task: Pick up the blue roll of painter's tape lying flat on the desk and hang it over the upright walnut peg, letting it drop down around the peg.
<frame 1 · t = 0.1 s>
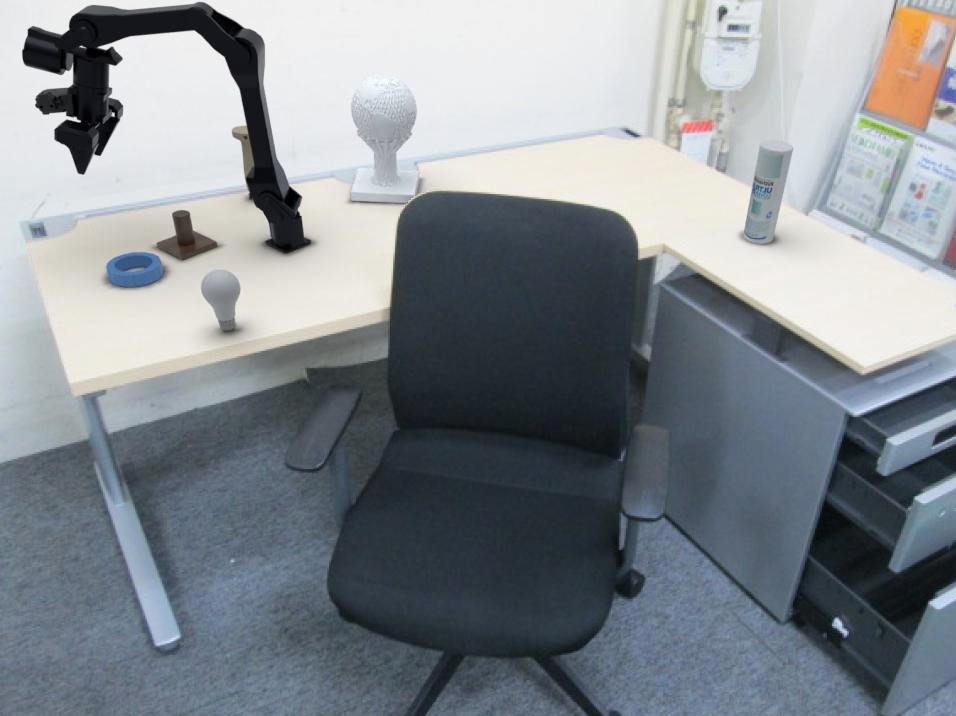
hand: (89, 164, 169), 15 cm above the table, tool pointing down, fingers open, 9 cm apart
tape: (136, 275, 167), on the table
peg stand: (187, 246, 177), on the table
lightbulb: (228, 331, 154), on the table
trophy: (386, 191, 204), on the table
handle: (257, 198, 198), on the table
spray can: (757, 238, 193), on the table
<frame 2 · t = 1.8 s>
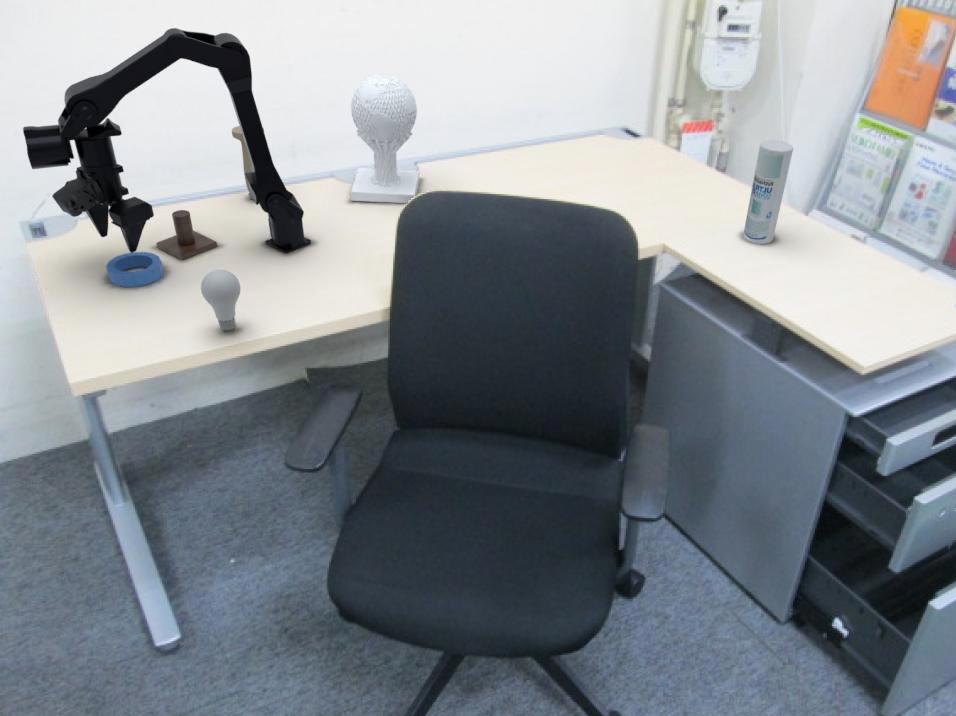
hand: (118, 243, 166), 5 cm above the table, tool pointing down, fingers open, 9 cm apart
nothing on the table moved.
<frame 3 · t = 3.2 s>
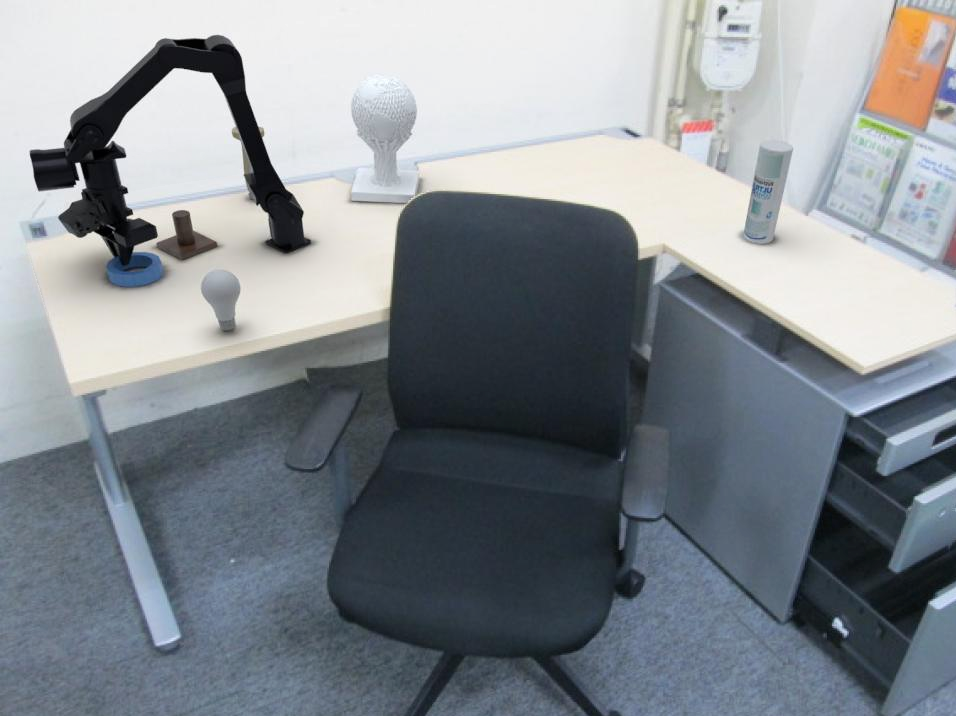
hand: (123, 263, 169), 1 cm above the table, tool pointing down, fingers closed on tape, 1 cm apart
tape: (136, 274, 167), on the table, touching gripper
everything else where it was.
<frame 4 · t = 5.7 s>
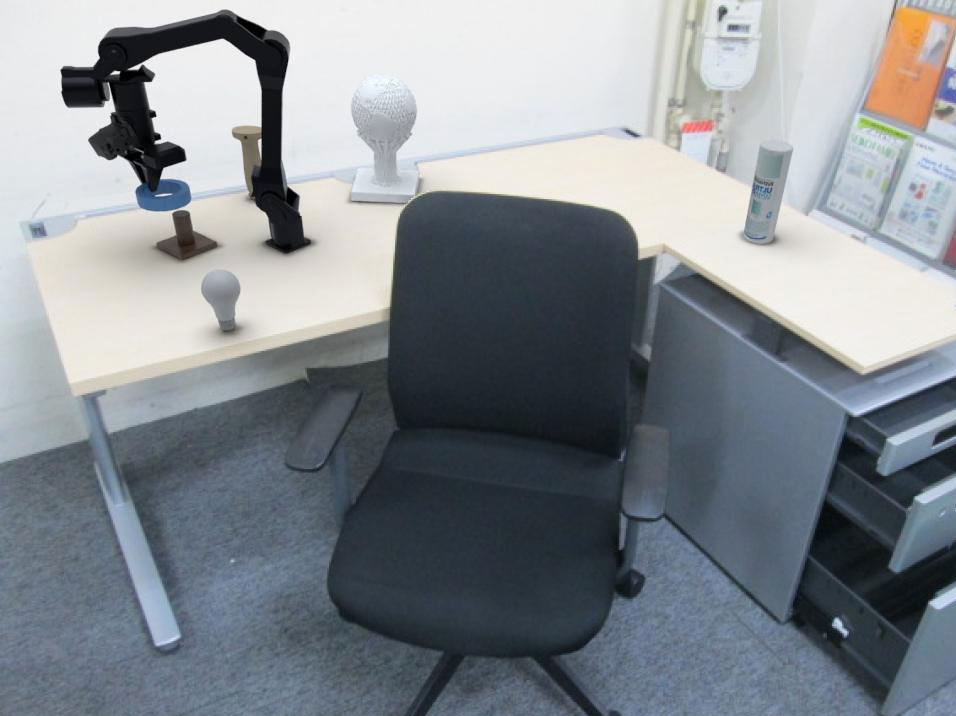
hand: (150, 190, 170), 12 cm above the table, tool pointing down, fingers closed on tape
tape: (164, 201, 169), point 11 cm above the table, touching gripper
everything else where it was.
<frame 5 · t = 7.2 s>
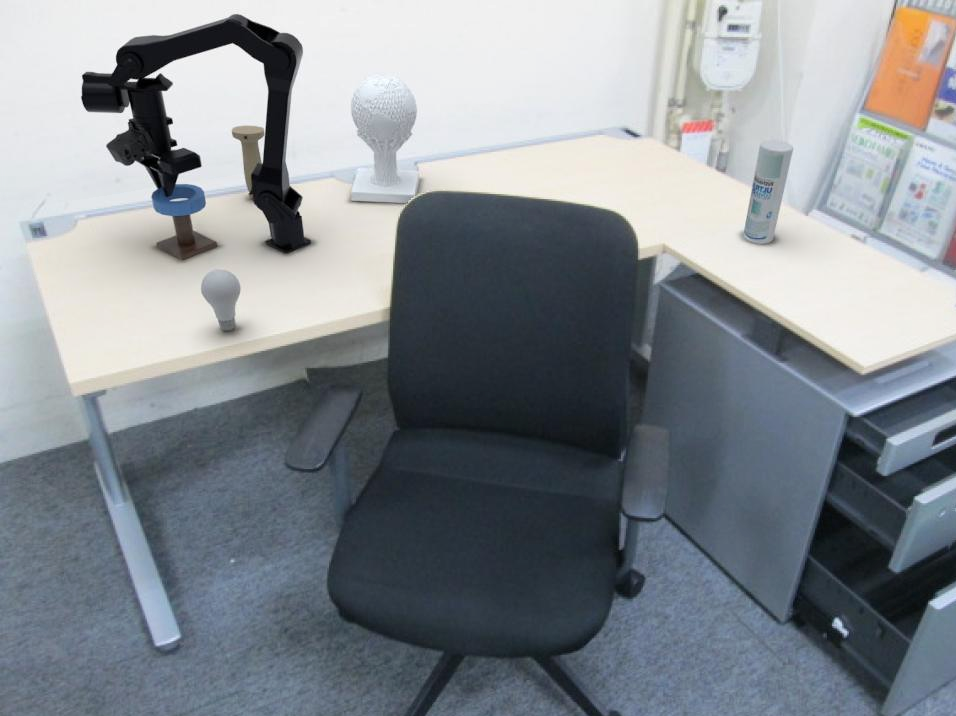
hand: (166, 195, 174), 10 cm above the table, tool pointing down, fingers closed on tape
tape: (180, 205, 173), point 9 cm above the table, touching gripper
everything else where it was.
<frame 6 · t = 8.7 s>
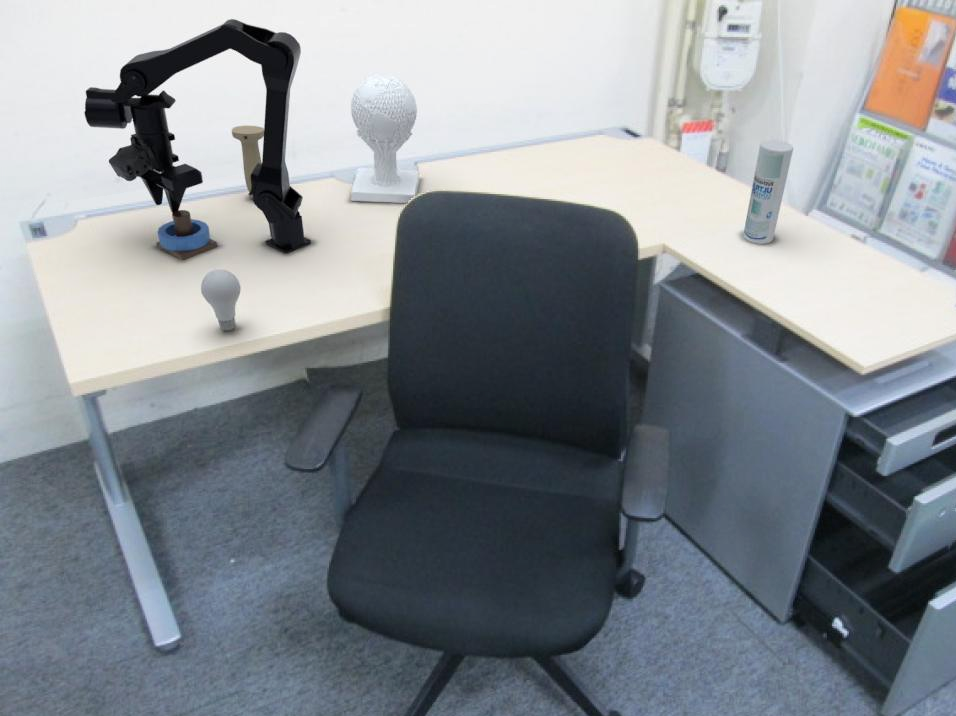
hand: (167, 208, 176), 7 cm above the table, tool pointing down, fingers open, 5 cm apart
tape: (185, 240, 177), point 1 cm above the table, touching peg stand
everything else where it was.
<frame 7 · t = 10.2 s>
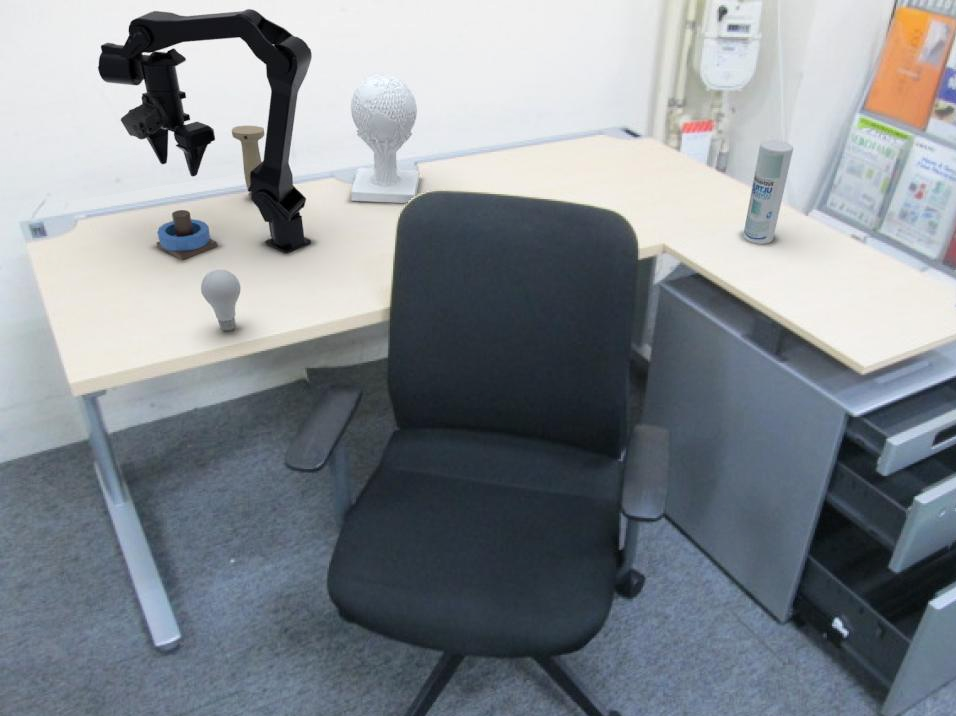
hand: (178, 169, 175), 13 cm above the table, tool pointing down, fingers open, 9 cm apart
nothing on the table moved.
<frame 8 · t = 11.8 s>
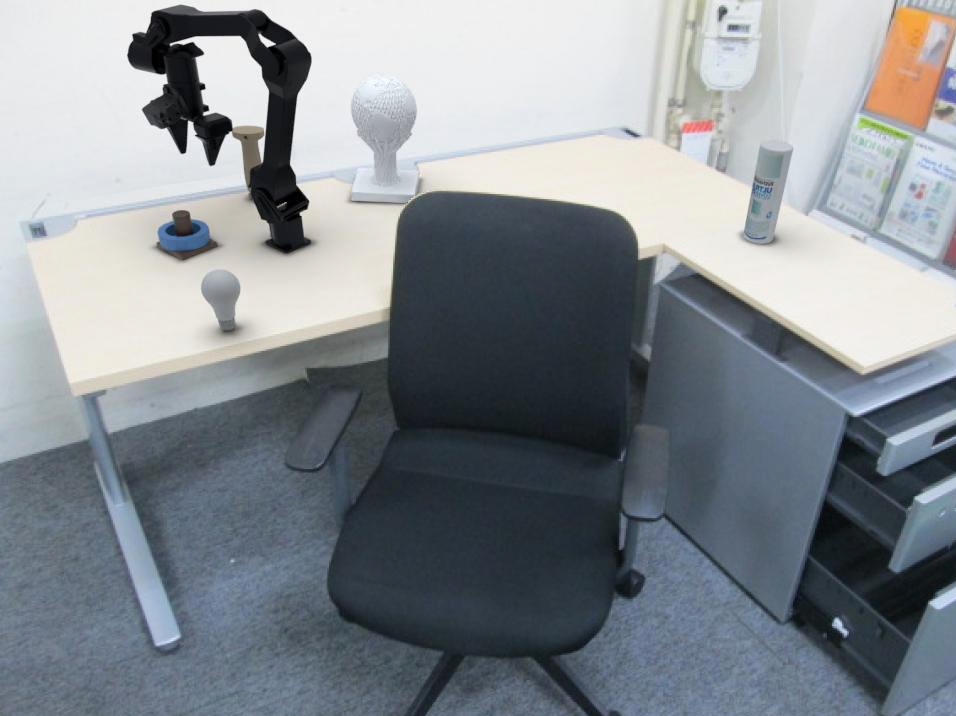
hand: (197, 159, 180), 13 cm above the table, tool pointing down, fingers open, 9 cm apart
nothing on the table moved.
at the end: tape 0.9 cm off-centre on the peg stand, point 1.0 cm above the peg stand's base; the gripper is holding nothing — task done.
